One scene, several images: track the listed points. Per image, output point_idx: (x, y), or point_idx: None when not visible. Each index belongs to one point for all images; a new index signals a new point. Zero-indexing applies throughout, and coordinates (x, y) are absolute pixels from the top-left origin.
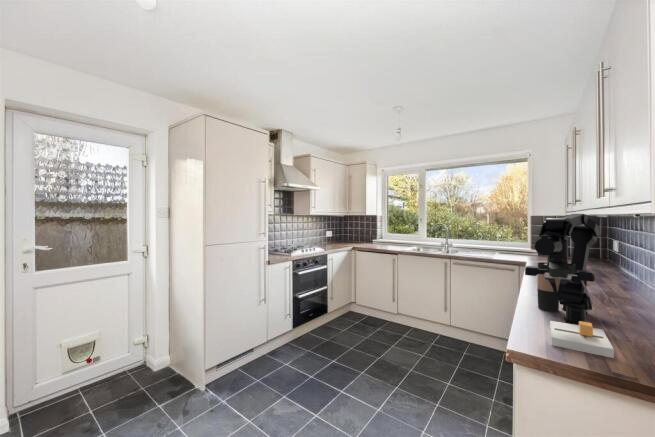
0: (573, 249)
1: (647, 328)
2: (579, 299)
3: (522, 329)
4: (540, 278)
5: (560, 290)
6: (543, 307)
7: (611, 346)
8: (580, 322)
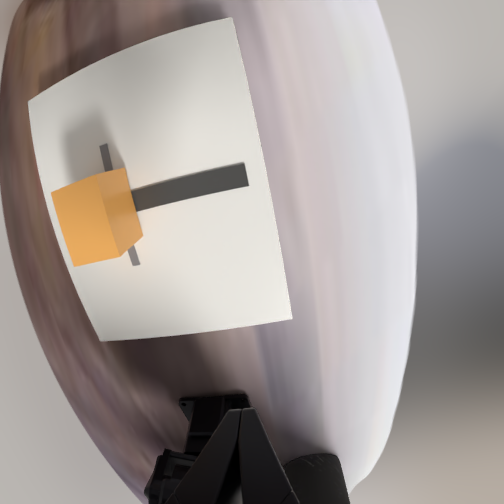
0: None
1: (97, 444)
2: (174, 481)
3: (389, 164)
4: None
5: (197, 479)
6: (326, 461)
7: (33, 130)
8: (105, 230)
